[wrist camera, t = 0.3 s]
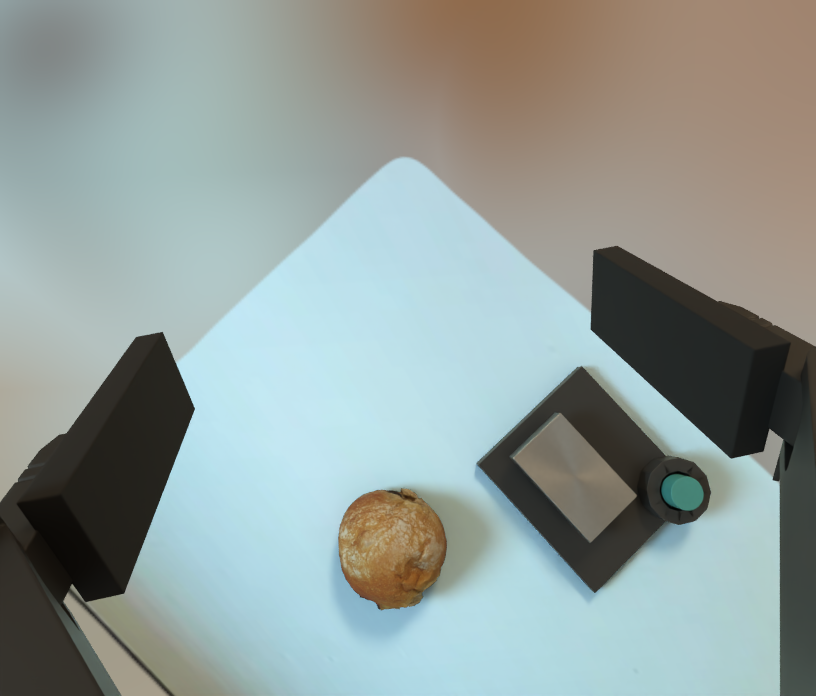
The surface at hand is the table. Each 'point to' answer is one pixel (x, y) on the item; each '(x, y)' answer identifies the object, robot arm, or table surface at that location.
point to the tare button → (682, 492)
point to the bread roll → (391, 547)
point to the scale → (621, 452)
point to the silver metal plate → (573, 476)
